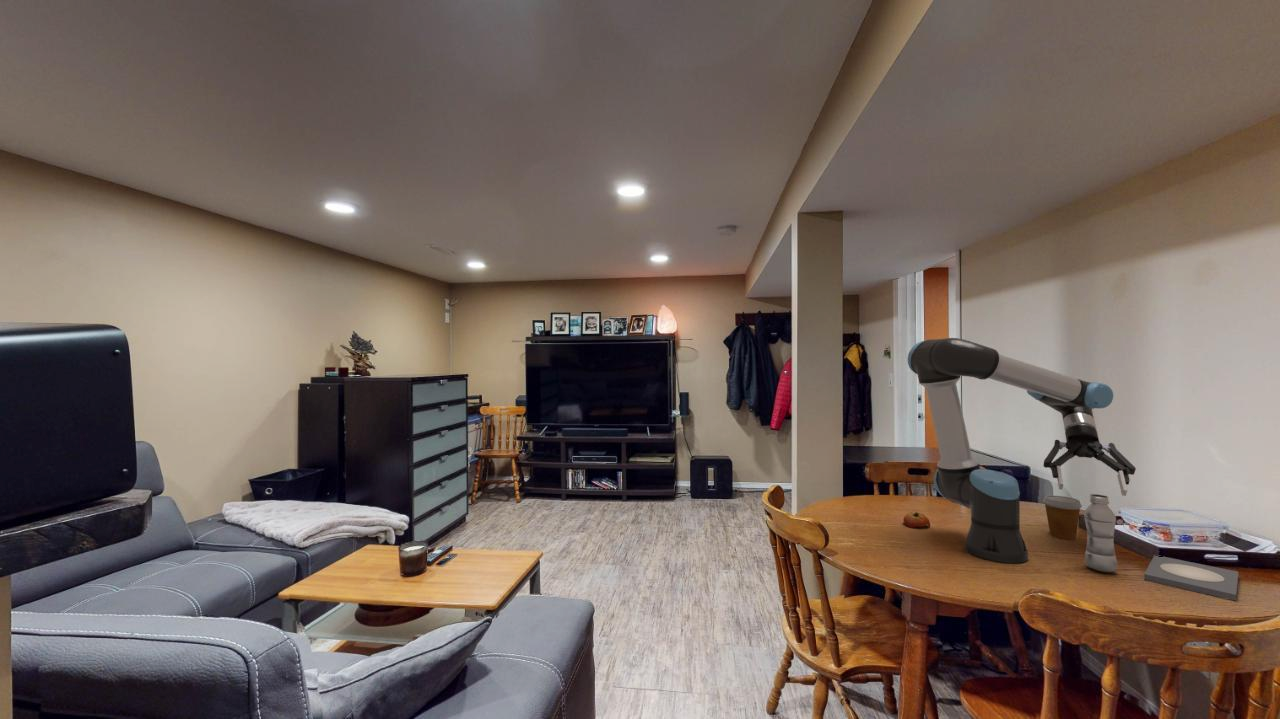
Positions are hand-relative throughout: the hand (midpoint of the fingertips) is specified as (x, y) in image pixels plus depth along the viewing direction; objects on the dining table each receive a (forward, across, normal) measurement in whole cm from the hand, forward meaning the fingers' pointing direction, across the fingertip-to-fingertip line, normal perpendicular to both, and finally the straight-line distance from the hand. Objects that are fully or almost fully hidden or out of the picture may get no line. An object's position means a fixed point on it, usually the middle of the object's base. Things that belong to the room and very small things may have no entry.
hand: (1092, 489), depth 141 cm
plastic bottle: (+21, 0, -6) cm, 22 cm away
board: (+17, -18, -10) cm, 27 cm away
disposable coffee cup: (+1, +4, -27) cm, 27 cm away
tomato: (+10, +45, -18) cm, 49 cm away
